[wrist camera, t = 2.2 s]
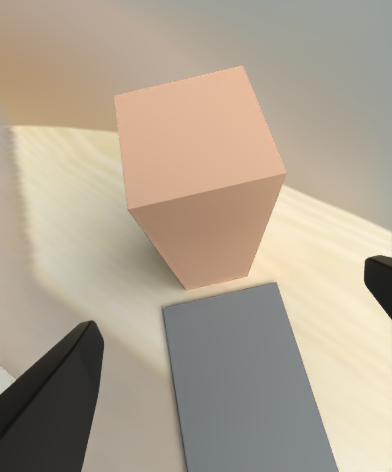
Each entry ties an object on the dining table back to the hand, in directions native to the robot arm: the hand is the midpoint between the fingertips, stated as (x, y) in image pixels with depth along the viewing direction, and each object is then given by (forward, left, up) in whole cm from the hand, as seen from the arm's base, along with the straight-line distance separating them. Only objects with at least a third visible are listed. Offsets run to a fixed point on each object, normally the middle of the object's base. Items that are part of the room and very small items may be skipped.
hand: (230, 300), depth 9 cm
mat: (-3, -5, -12) cm, 14 cm away
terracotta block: (+2, +5, -12) cm, 13 cm away
